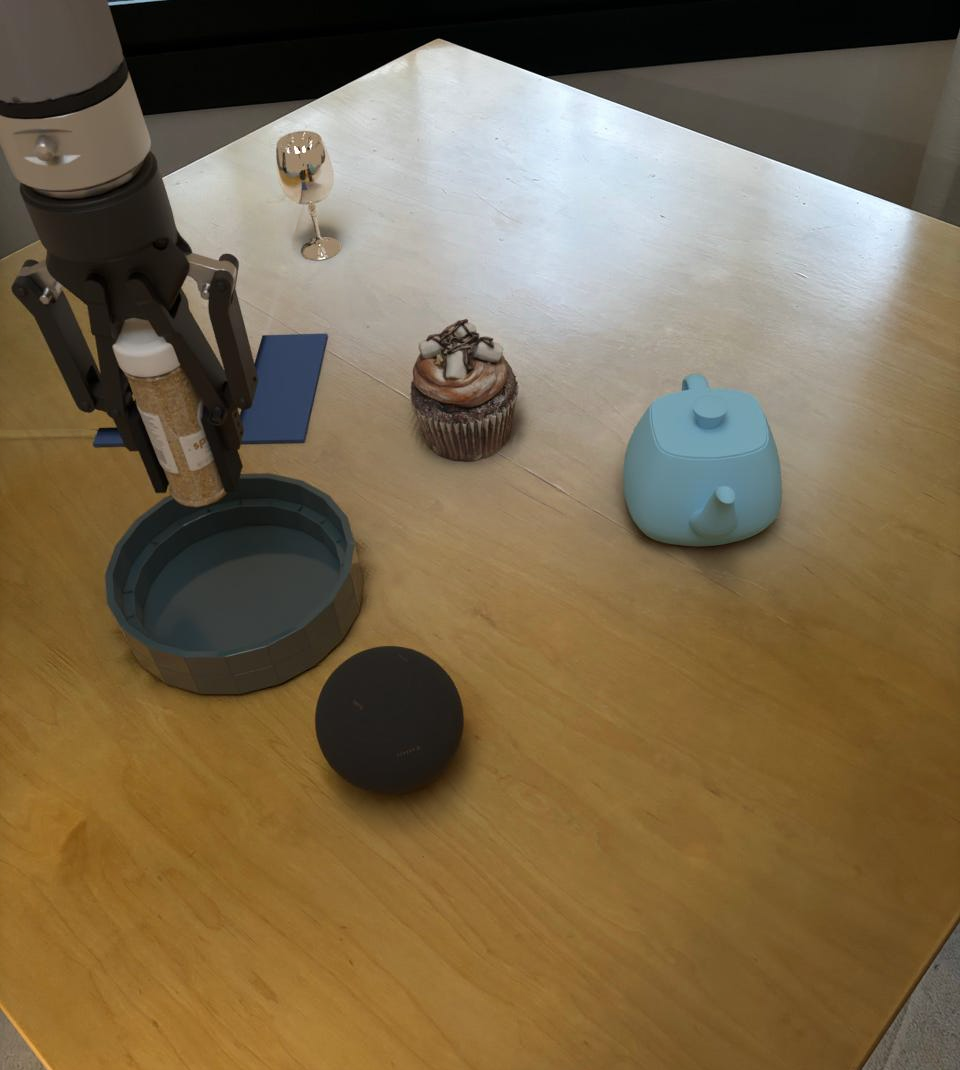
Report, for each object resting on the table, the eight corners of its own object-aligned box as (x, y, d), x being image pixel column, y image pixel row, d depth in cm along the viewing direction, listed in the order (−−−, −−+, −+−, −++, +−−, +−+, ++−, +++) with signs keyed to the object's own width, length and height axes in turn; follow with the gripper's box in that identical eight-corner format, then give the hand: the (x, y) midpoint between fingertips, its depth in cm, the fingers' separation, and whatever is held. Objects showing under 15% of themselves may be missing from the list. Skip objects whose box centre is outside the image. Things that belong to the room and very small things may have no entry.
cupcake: (393, 438, 98) (377, 346, 90) (466, 384, 102) (457, 292, 94) (469, 483, 94) (460, 391, 86) (542, 426, 98) (539, 333, 90)
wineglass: (357, 242, 119) (338, 135, 109) (325, 268, 116) (303, 161, 107) (316, 229, 121) (294, 123, 112) (284, 255, 118) (259, 149, 109)
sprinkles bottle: (236, 502, 76) (184, 345, 66) (171, 515, 76) (108, 359, 65) (230, 459, 79) (179, 302, 68) (168, 472, 78) (107, 315, 68)
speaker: (379, 682, 81) (359, 596, 73) (494, 734, 77) (485, 649, 69) (301, 784, 76) (270, 702, 68) (420, 845, 72) (402, 766, 64)
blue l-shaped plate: (93, 447, 100) (92, 443, 100) (135, 342, 110) (134, 338, 110) (304, 442, 98) (303, 439, 98) (328, 336, 108) (327, 333, 108)
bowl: (98, 697, 82) (75, 657, 78) (157, 517, 94) (139, 475, 90) (347, 697, 80) (336, 656, 76) (375, 514, 92) (366, 471, 88)
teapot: (642, 502, 76) (617, 346, 87) (635, 601, 84) (613, 447, 95) (822, 491, 75) (774, 336, 86) (797, 591, 83) (756, 438, 95)
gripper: (-94, 207, 57) (67, 518, 75) (228, 197, 55) (311, 515, 74) (-45, 136, 61) (95, 445, 80) (254, 125, 60) (326, 442, 78)
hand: (199, 478), depth 77 cm, fingers closed on sprinkles bottle, 4 cm apart
